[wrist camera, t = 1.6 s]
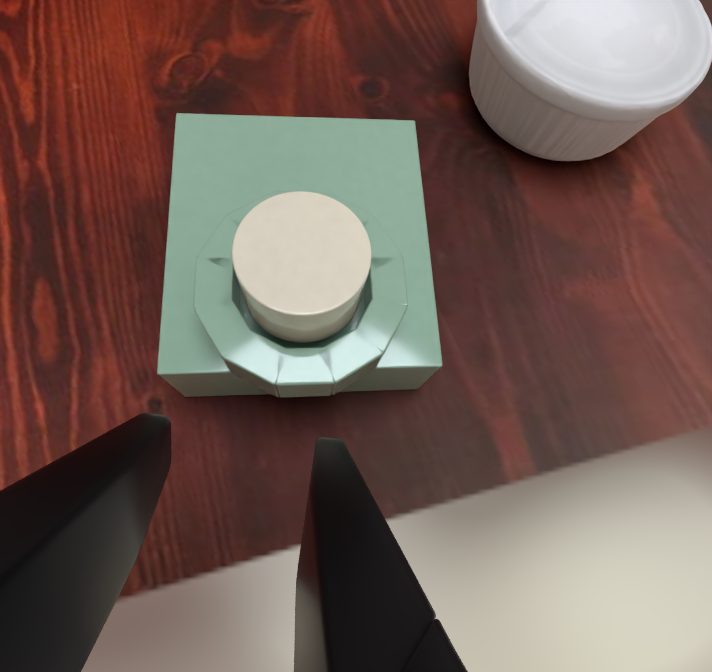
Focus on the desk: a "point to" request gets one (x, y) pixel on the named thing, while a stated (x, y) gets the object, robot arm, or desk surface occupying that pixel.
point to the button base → (217, 275)
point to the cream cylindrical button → (301, 265)
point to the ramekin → (584, 69)
